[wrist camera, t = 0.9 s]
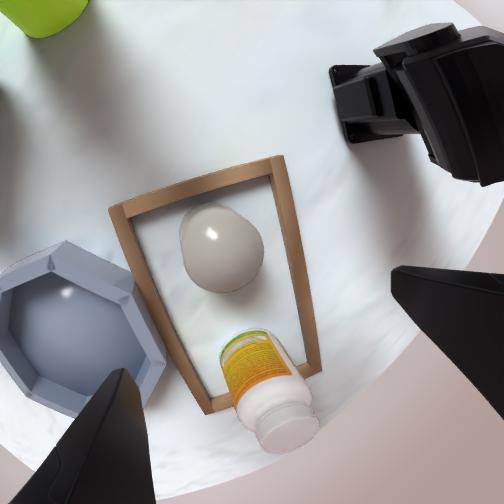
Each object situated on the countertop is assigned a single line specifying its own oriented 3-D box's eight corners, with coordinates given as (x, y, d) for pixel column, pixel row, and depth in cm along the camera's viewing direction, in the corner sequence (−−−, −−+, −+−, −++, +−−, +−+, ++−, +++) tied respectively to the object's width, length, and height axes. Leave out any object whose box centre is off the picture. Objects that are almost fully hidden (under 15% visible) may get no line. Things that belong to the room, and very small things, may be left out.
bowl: (115, 220, 18) (106, 231, 15) (184, 374, 23) (188, 399, 20) (-19, 280, 15) (-38, 296, 12) (59, 404, 20) (53, 427, 17)
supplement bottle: (206, 362, 23) (231, 454, 14) (243, 315, 23) (290, 401, 14) (253, 381, 25) (291, 462, 16) (290, 340, 25) (344, 416, 16)
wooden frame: (277, 155, 20) (283, 155, 19) (317, 364, 27) (322, 370, 26) (110, 206, 17) (107, 209, 16) (203, 407, 25) (205, 415, 24)
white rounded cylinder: (232, 193, 20) (253, 203, 15) (248, 251, 21) (271, 277, 17) (171, 213, 19) (171, 229, 14) (190, 271, 20) (198, 303, 16)
